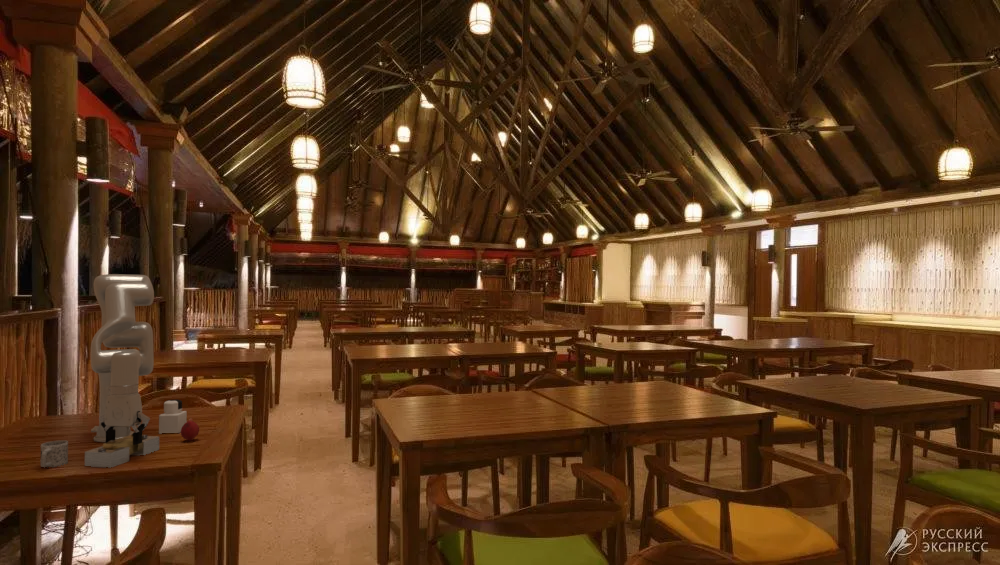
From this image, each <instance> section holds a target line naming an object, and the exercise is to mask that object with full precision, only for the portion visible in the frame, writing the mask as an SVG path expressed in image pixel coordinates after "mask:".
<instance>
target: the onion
mask: <svg viewBox="0 0 1000 565" xmlns="http://www.w3.org/2000/svg"><path fill="white" fill-rule="evenodd" d="M193 420H194V419H193V418H189V419H187V422H186V423H185V424H184V425H183V426H182V428H181V432H180V435H181V437H182V438H183V439H184V440H186V441H188V442H191V441H193V440H194V439H195V438H196V437H197V436H198V435H199V433H200V426H199V425H198V424H197V422H195V421H193Z"/></svg>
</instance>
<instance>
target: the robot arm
mask: <svg viewBox="0 0 1000 565" xmlns="http://www.w3.org/2000/svg"><path fill="white" fill-rule="evenodd" d="M93 291H94V294H95V298H96V300H97V302H98V305H99V308H100V311H101V327H100V328H99V329H98V330H97V331H96V332H95V334H94V336H93V337H92V340H91V343H90V367H91V369H92V371H93V372H94V373H96V374H97V375H98V382H99V385H98V386H99V414H98V415H99V417H98V421H99V423H98V425H94V427H93V428H91V430H90V433H96V435H95V436H94V437H93V441H94V442H98V443H107V442H109V441H110V440H116V439H120V438H123V437H126V436H129V435H131V434H133V445H137V444H140V443H142V435H143V431H145V429H146V428H147V427H148V425H149V422H150V420H151V418H150V416H147V415H146V414H144V413H143V405H142V400H141V399H142V398H141V394H140V393H139V376H141V377H143V376H149V375H150V374H152V373H153V370H154V363H155V362H154V360H155V358H154V357H155V356H154V355H155V354H154V332H153V328H152V326H151V324H150V323H149V322H146V321H136V308H135V307H139V306H141V307H145V306H151V305H152V304H153V303H154V301H155V300H154V299H155V290H154V286H153V283H152V280H151V279H150V277H149V276H148V275H146V274H126V273H125V274H119V273H112V274H111V273H110V274H109V273H107V274H101V275H98V276H95V278H94V280H93ZM102 344H103V345H104V347H106V348H110V349H107V350H106V349H104V350H103V349H101V348H102ZM113 348H114V349H113ZM121 348H122V349H121ZM124 348H125V349H124ZM126 348H128V349H126ZM134 348H138V349H139V350H138V349H134ZM131 428H132V429H133V431H132V430H131Z"/></svg>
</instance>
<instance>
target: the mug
mask: <svg viewBox="0 0 1000 565" xmlns="http://www.w3.org/2000/svg"><path fill="white" fill-rule="evenodd" d="M68 462H69V440H61V439H60V440H53V441H47V442H43V443H41V444H40V466H41V467H44V468H43V469H48V467H52V468H57V466H58V467H62V466H65V465H67V464H69V463H68ZM64 464H65V465H64ZM61 465H62V466H61ZM41 467H40V468H41ZM45 467H47V468H45Z"/></svg>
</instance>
